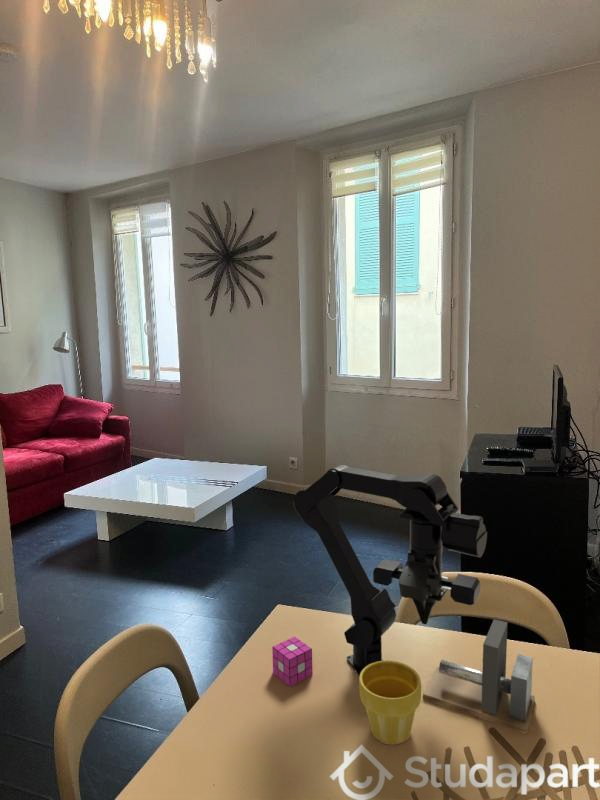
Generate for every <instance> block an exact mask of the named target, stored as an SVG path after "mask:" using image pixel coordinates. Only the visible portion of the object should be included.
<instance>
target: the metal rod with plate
mask: <svg viewBox="0 0 600 800" xmlns="http://www.w3.org/2000/svg"><path fill="white" fill-rule="evenodd" d="M533 661H534V658H533V657H531V656H528V655H523V654H521V653H520V654H519V653H518V654H517V656H516V659H515V662H514V665H513V669H512V673H511V675H510V678H507V677H506V678H504V677H501V678H500V683H499V691H501V692H504V693H507V694H511V695H510V719H513V720H517V721H520V722H523V723H525V722H526V718H527V713H528V709H529V705H530V701H531V695H532V687H533V686H532V683H533ZM438 667H439V673H441V674H445V675H448V676H451V677H455V678H458V679H461V680H464V681H468V682H471V683H474V684H478V685H481V686H482V671H483V670H479V669H476V668H473V667H470V666H466V665H462V664H459V663H455V662H451V661H448V660H445V659H440V661H439V666H438Z"/></svg>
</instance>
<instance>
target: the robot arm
mask: <svg viewBox="0 0 600 800" xmlns="http://www.w3.org/2000/svg"><path fill="white" fill-rule="evenodd" d="M342 490H346V491H352V492H357V493H362V494H367V495H372V496H377V497H381V498H386V499H390V500H393V501H395V502H396V503H398V504H399V505H400V506H401V507H403V508H405V509H404V510H402V512H401V513H398V517H399V519H403V520H409V551H408V552H407V557H406V558H407V560H406V562H405V566H404V564H403V562H402V561H399V560H393V559H390V558H384V559H383V560H382V561H381V562H379V563H378V565H377V566H376V567H375V568H374V569H373V572H372V579H373V580H372V581H373V583H374V584H378V585H382V586H387V587H388V586H390V584H392V583H393V579H396V580H398V587H399V593H400V596H401V597H402V598H404V599H412V602H413V603H414V606H415V608H416V610H417V613H418V617H419V619H420V622H421V624H422V625H427V624H428V623H429V619H430V617H431V616H432V612H433V610H434V608H435V605H436V603H437V602H441V601H442V600H443V599H444V598H445V595H446V593H448V591H450V593H449V594H450V598H451V600H452V601H454V602H455V603H458V604H459V603H460V604H464V605H468V606H472V605H475V603H476V600H477V599H478V597H479V595H480V593H481V582H480V580H479V578H478V577H476V576H472V575H471V576H470V575H468V574H467V575H465V574H461V573H458V574H457V575H456V577H455V578H454V579H451V578H449V577H447V576H443V575H442V574H443V571H444V566H443V564H442V563H443V561H442V560H443V559H442V556H443V552H444V548H445V549H446V551H451V552H456V553H458V554H464V555H467V556H472V557H476V558H482V556H483V554H484V553H485V550H486V545H487V542H488V541H487V539H488V531H487V530H486V529H487V528H486V525H485V524H484V517H483V516H479V515H468V514H463V513H457V512H458V511H459V507H458V506H457V504H456V503H455V501H454V499H453V498H452V497H451V496H450V493H449V492H448V489H447V486H446V484H445V481H444V480H443V479H442V478H441V476H439V475H438V474H434V473H412V474H405V475H404V474H403V475H398V474H397V475H396V474H391V473H387V472H386V473H385V472H380V471H374V470H369V469H365V468H364V469H363V468H358V467H357V468H356V467H353V466H352V467H351V466H348V465H346V464H345V465H344V464H338V465H336V466H334V467H332V468H328V470H327V471H326V472H325V473H324V474H323V475H322V476H321V477H320V478H319V479H318V480H316V481H315V482H313V483H312V484H311V485H309V486H307V487H305V488H303V489H301V490H298V491H297V492H296V493H295V495H294V498H293V499H294V500H293V503H292V504H293V508H294V510H295V511H296V513H297V514H298V515H299V518H300V519H301V520H302V521H303V523H305V525H307V526H308V527H309V528H311V529H312V530H314V531H315V532H316V534H318V537H319V539H320V541H321V543H322V545H323V546H324V549H325V550H326V552H327V554H328V556H329V558H330V560H331V563H332V564H333V566H334V567H335V570H336V572H337V574H338V577H340V579H341V581H342V584H343V585H344V588H345V589H346V591H347V593H348V595H349V598H350V611H351V617H352V620H353V624H352V625H351V626H350V627H349V628H348V629H346V630H345V631H344V633H343V634H344V638H345V641H346V643H347V644H350V645H352V654H351V655H348V656H346V660H347V662H348V663H349V665H350V666H351V667H352V668H353V670H354V671H355V673H356V674H357V675H358V676H359V677H360V673H361V671H362V670H363V669H364V668H365V667H366V666H368V665H369V664H371V663H374V662H378V661H384V659H383V657H382V652H383V651H382V649H383V648H382V644H383V643H382V636H383V635H384V634H385V633H386V632H387V631H388V630H389V629H390V628H391V627H392V626H393V625H394V624H395V622H396V617H397V612H396V609H395V608H396V606H397V605H396V604H395V603H394V602H393V601H392V599H391V597H390V595H389V592H388V590H387V589H386V588H383V589H378V588H377V587H376V586H374V585H373V584H372V582H371V580H370V579H369V577H368V575H367V573H366V571H365V569H364V568H363V566H362V563H361V562H360V560H359V558H358V556H357V553H355V550H354V549H353V547H352V545H351V542H350V541H349V538H348V537H347V535H346V533H345V532H344V530H343V528H342V525H341V524H340V522H339V518H338V516H339V515H338V514H339V513H338V504H337V501H336V499H335V496H336V495H337V494H338V493H340V492H341V491H342ZM438 505H439V506H441V507H440V508H439V509H437V506H438Z"/></svg>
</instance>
